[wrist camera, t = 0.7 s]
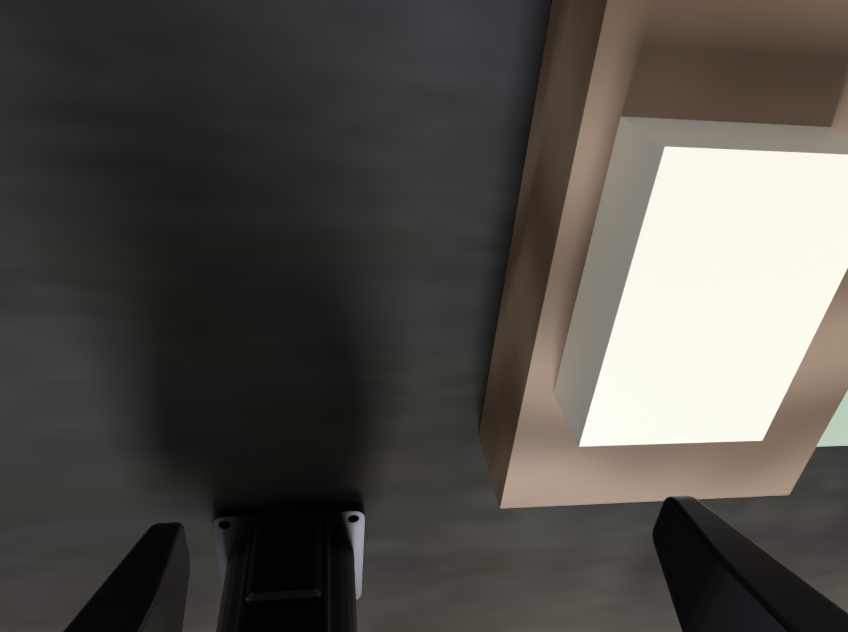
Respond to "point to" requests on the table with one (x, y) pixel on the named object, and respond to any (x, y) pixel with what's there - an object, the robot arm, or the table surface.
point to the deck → (576, 213)
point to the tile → (703, 279)
